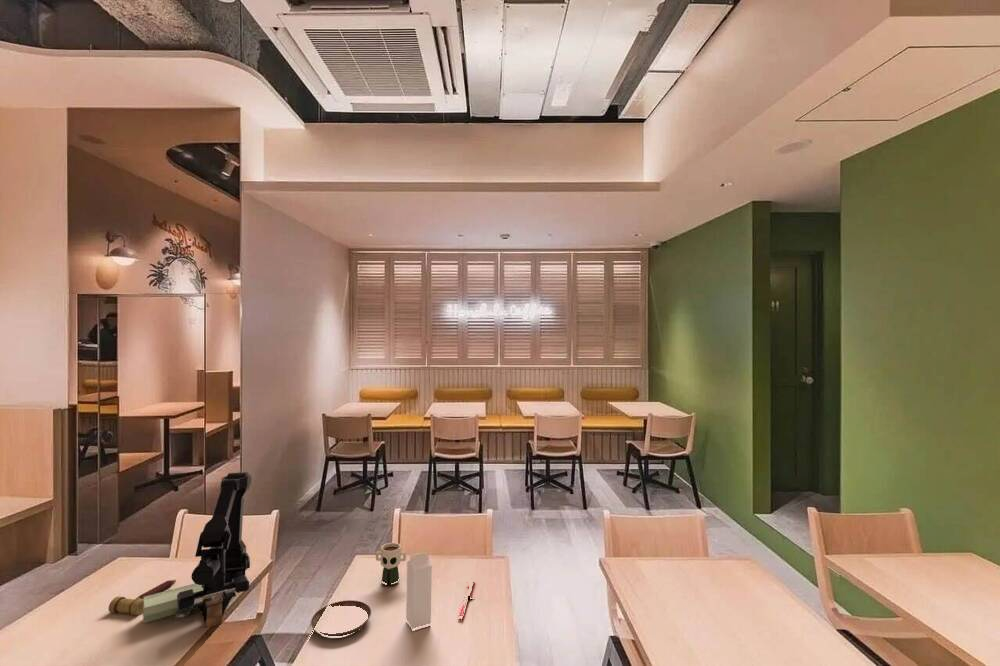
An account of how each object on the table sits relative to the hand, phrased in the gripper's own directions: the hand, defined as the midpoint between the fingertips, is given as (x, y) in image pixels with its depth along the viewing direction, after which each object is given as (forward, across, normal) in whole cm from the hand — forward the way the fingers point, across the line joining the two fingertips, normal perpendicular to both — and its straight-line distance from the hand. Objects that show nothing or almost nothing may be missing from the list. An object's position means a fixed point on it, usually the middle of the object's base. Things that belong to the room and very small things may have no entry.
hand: (213, 618), depth 149 cm
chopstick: (+2, -70, +37) cm, 79 cm away
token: (+1, +7, -10) cm, 12 cm away
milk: (+1, -50, +38) cm, 63 cm away
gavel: (+2, +15, -28) cm, 32 cm away
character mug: (+1, -54, +10) cm, 55 cm away
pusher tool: (+1, 0, -5) cm, 5 cm away
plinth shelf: (+1, +8, -11) cm, 13 cm away
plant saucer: (+2, -31, +24) cm, 40 cm away
